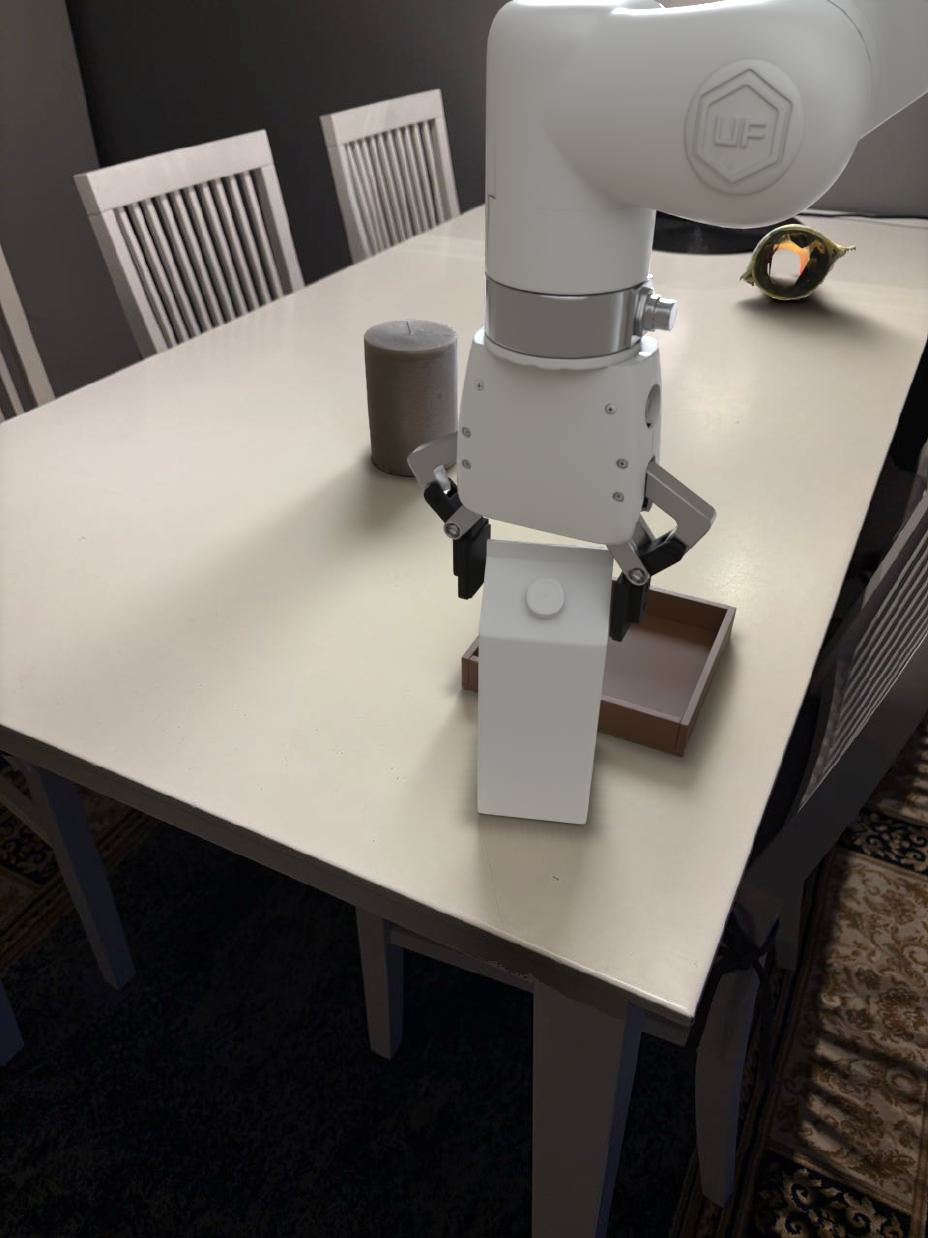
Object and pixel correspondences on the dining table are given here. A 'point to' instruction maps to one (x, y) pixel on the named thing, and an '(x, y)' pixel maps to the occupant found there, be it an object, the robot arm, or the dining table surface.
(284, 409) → the dining table surface
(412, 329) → the pillar candle
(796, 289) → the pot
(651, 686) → the tray
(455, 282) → the dining table surface
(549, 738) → the milk carton
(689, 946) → the dining table surface
